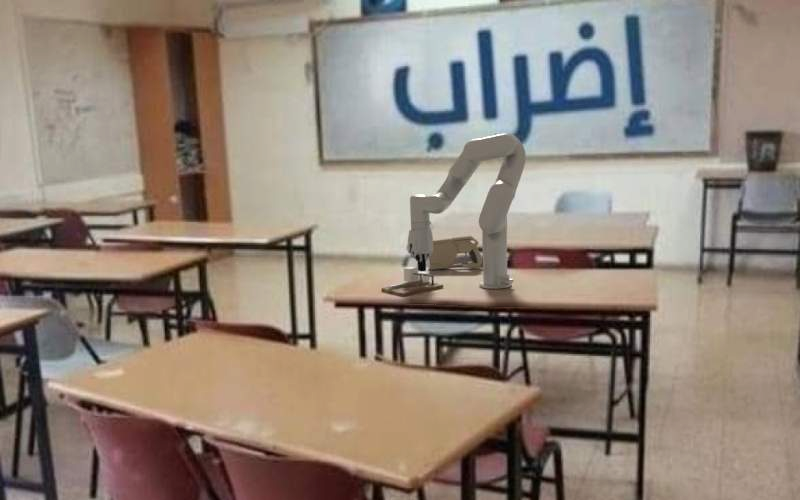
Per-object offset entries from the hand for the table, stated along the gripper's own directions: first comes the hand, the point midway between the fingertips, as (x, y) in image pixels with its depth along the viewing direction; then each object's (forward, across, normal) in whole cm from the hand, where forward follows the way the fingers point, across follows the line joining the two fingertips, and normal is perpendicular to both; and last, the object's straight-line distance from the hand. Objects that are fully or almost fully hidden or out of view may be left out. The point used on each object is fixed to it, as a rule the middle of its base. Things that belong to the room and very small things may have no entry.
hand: (421, 270), depth 321 cm
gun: (+6, -30, -15) cm, 34 cm away
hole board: (+6, +8, +3) cm, 10 cm away
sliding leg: (+4, +6, +2) cm, 7 cm away
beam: (+5, +7, +2) cm, 9 cm away
